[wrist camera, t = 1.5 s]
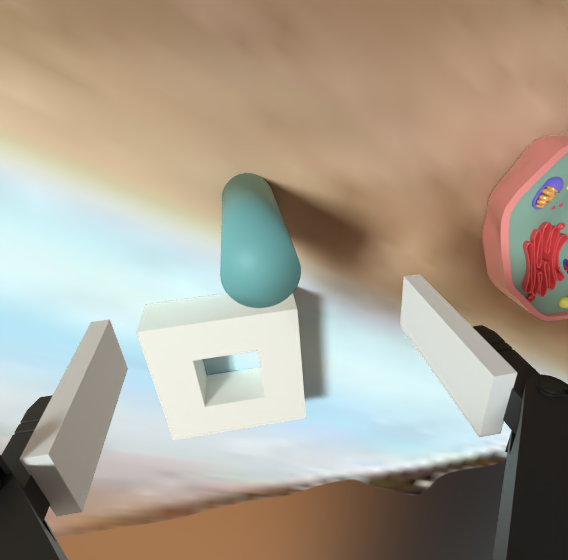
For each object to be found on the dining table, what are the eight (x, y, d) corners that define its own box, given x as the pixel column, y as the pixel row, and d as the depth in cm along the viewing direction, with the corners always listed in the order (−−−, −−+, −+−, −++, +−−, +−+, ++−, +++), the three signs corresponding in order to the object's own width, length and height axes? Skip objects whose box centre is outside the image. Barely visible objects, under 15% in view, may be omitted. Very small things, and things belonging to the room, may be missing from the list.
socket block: (289, 283, 38) (297, 308, 34) (298, 387, 45) (306, 418, 41) (145, 304, 37) (136, 332, 33) (177, 407, 43) (173, 440, 40)
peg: (270, 170, 32) (298, 231, 20) (275, 219, 34) (303, 302, 22) (218, 176, 32) (213, 242, 20) (226, 226, 34) (227, 313, 22)
